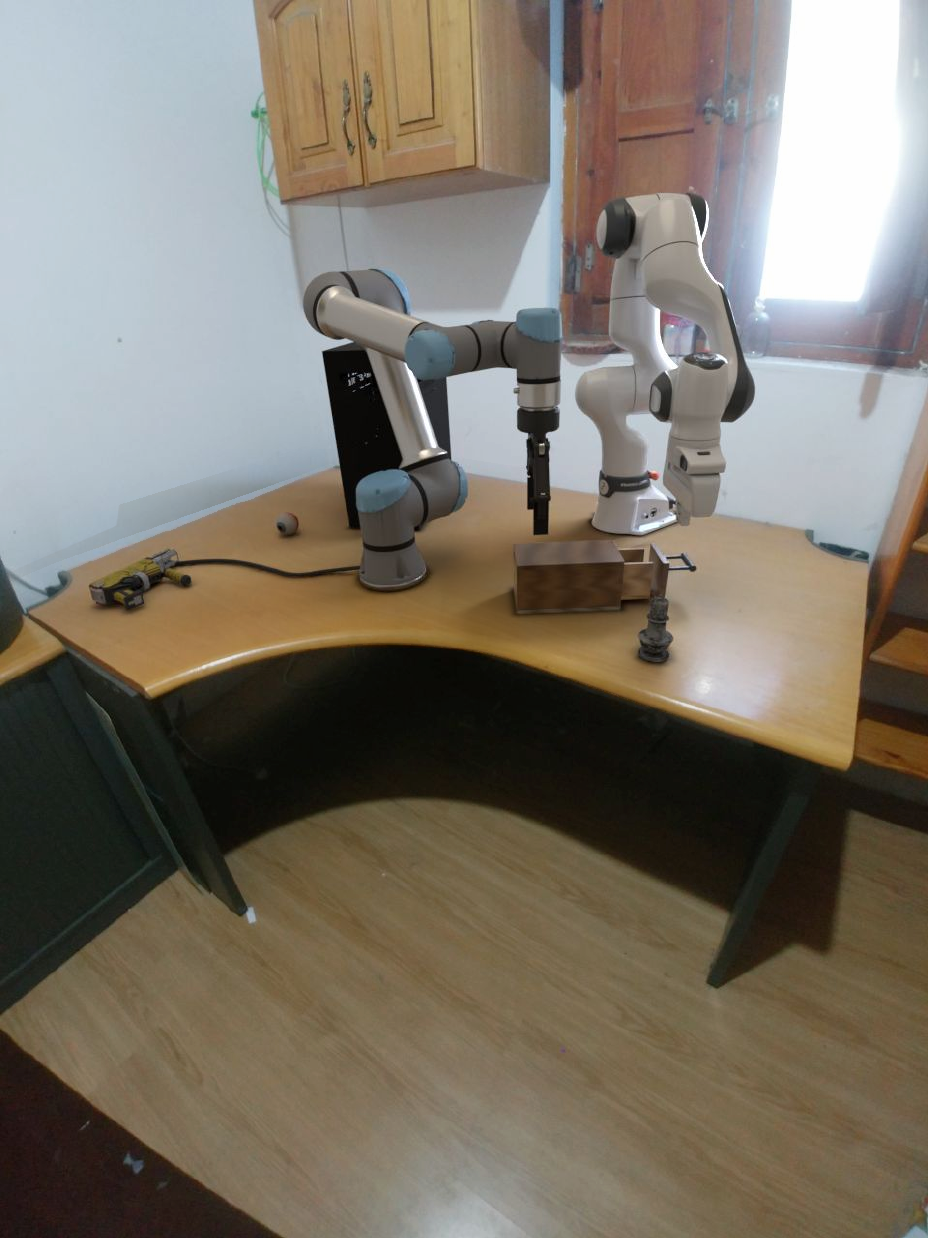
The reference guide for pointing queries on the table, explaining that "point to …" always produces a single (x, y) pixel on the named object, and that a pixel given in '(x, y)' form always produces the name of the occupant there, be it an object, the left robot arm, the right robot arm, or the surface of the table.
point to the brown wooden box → (567, 576)
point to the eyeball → (287, 523)
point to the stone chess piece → (656, 632)
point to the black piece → (371, 420)
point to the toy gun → (136, 580)
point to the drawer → (648, 572)
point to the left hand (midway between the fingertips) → (537, 521)
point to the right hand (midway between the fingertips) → (682, 523)
